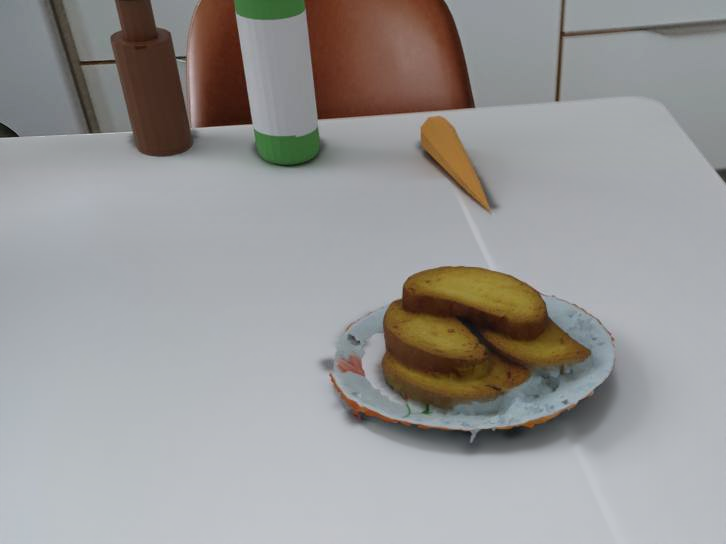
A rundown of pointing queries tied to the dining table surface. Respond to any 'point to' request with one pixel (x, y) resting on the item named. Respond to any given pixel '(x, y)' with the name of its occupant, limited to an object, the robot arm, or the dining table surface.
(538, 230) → the dining table surface
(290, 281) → the dining table surface
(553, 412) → the food on plate
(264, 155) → the wine bottle
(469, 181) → the carrot
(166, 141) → the bottle
